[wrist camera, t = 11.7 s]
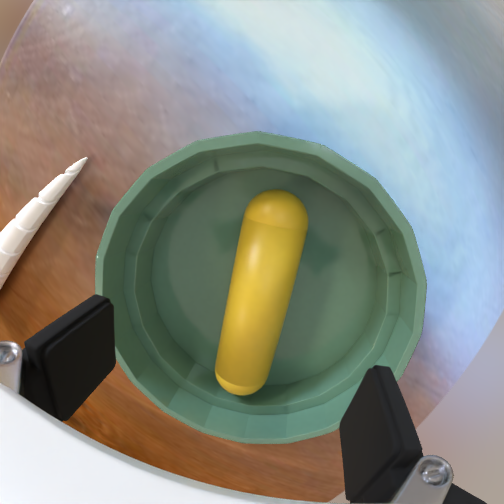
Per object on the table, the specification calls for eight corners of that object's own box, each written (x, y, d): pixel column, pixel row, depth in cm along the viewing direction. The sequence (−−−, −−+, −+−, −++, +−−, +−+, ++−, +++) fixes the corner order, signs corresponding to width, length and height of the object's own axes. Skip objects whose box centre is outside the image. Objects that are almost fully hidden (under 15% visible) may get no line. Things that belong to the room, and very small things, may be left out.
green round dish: (158, 131, 18) (114, 116, 13) (422, 188, 17) (465, 191, 11) (134, 358, 23) (101, 394, 17) (343, 410, 21) (351, 458, 16)
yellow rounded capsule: (253, 183, 18) (246, 182, 14) (311, 196, 17) (318, 198, 14) (217, 368, 21) (206, 398, 17) (264, 379, 21) (259, 410, 17)
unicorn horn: (110, 198, 20) (67, 204, 15) (-3, 306, 25) (-30, 319, 20) (87, 147, 19) (45, 143, 15) (-18, 272, 24) (-45, 282, 20)
